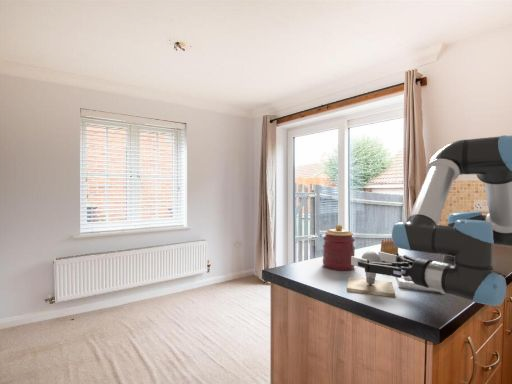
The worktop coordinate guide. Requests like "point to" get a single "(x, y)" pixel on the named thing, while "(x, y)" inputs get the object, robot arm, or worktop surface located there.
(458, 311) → the worktop surface
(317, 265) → the worktop surface
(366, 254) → the lightbulb
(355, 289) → the birch board
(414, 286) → the collar holder
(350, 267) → the canister
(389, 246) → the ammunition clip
